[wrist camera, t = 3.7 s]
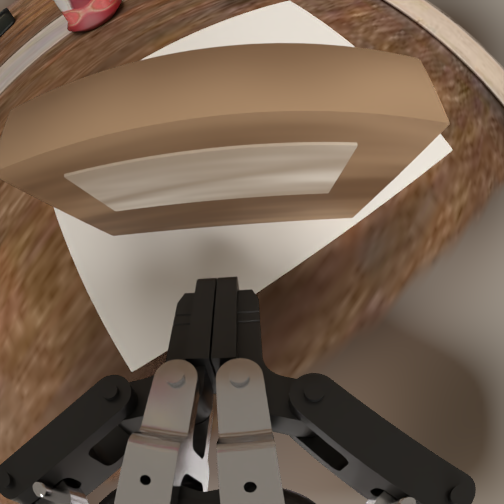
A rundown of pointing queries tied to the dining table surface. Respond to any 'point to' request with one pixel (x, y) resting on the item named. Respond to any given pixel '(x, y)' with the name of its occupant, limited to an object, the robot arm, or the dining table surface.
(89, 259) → the mat
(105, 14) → the liquor
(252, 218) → the slab
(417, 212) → the dining table surface
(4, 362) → the dining table surface
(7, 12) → the mobile phone
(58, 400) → the dining table surface
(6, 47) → the dining table surface
